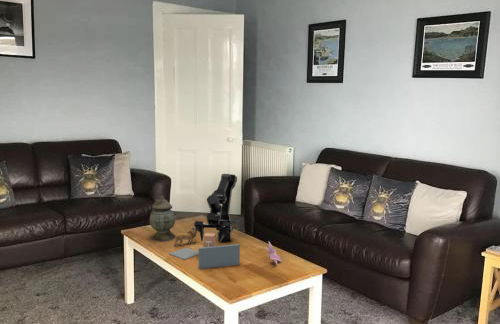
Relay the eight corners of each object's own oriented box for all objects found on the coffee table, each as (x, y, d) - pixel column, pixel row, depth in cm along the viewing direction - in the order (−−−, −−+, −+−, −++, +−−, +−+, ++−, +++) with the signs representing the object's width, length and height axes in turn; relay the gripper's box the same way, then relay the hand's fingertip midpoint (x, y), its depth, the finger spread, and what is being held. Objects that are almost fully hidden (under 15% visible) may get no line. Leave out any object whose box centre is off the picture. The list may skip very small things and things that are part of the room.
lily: (267, 271, 219) (277, 255, 218) (251, 256, 226) (261, 240, 225) (280, 271, 229) (290, 255, 227) (265, 256, 236) (275, 241, 234)
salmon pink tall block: (206, 259, 231) (206, 232, 229) (215, 259, 230) (215, 233, 228) (203, 263, 226) (203, 235, 224) (213, 263, 225) (213, 236, 223)
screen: (238, 263, 226) (238, 244, 224) (239, 264, 224) (239, 245, 223) (198, 267, 220) (198, 247, 218) (199, 268, 218) (199, 248, 217)
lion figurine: (194, 240, 260) (194, 225, 258) (199, 242, 256) (199, 227, 254) (171, 245, 250) (171, 230, 249) (176, 248, 246) (176, 232, 245)
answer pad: (186, 248, 246) (186, 247, 246) (201, 253, 239) (201, 252, 239) (168, 254, 237) (168, 253, 237) (184, 260, 230) (184, 258, 229)
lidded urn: (170, 242, 256) (169, 199, 252) (146, 240, 258) (145, 197, 255) (179, 235, 269) (178, 193, 265) (156, 233, 272) (155, 192, 268)
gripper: (195, 205, 233) (189, 232, 223) (231, 207, 230) (227, 234, 221) (198, 216, 241) (193, 243, 232) (233, 218, 239) (229, 245, 230)
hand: (210, 241), depth 229 cm, fingers open, 9 cm apart
